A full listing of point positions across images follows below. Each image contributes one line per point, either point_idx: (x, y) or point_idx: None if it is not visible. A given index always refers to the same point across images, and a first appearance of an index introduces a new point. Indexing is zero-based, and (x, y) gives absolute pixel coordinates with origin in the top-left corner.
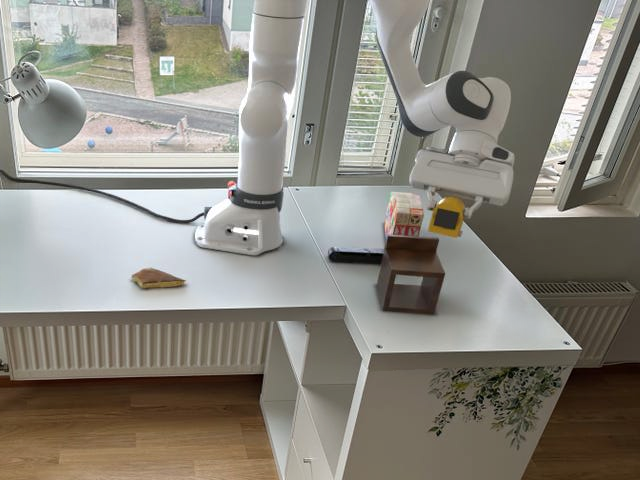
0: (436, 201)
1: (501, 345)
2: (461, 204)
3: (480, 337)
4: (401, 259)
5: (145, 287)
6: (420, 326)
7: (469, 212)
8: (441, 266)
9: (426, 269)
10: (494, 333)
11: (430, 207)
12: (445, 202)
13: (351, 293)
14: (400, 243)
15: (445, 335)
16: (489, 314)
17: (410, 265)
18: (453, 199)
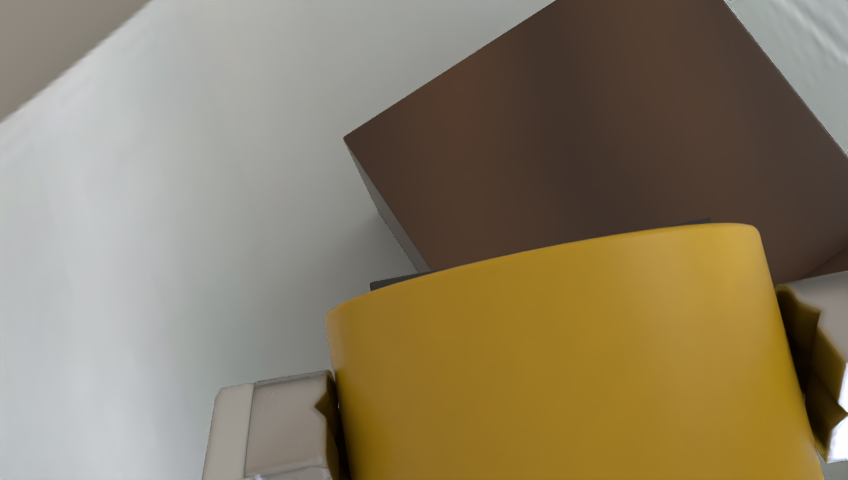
0: (842, 352)
1: (8, 156)
2: (420, 472)
3: (111, 157)
4: (696, 123)
5: None
6: (383, 53)
7: (247, 408)
8: (409, 224)
9: (475, 98)
10: (65, 242)
11: (837, 272)
12: (652, 233)
13: (826, 114)
14: (829, 268)
15: (254, 59)
16: (141, 421)
17: (595, 75)
18: (588, 438)
